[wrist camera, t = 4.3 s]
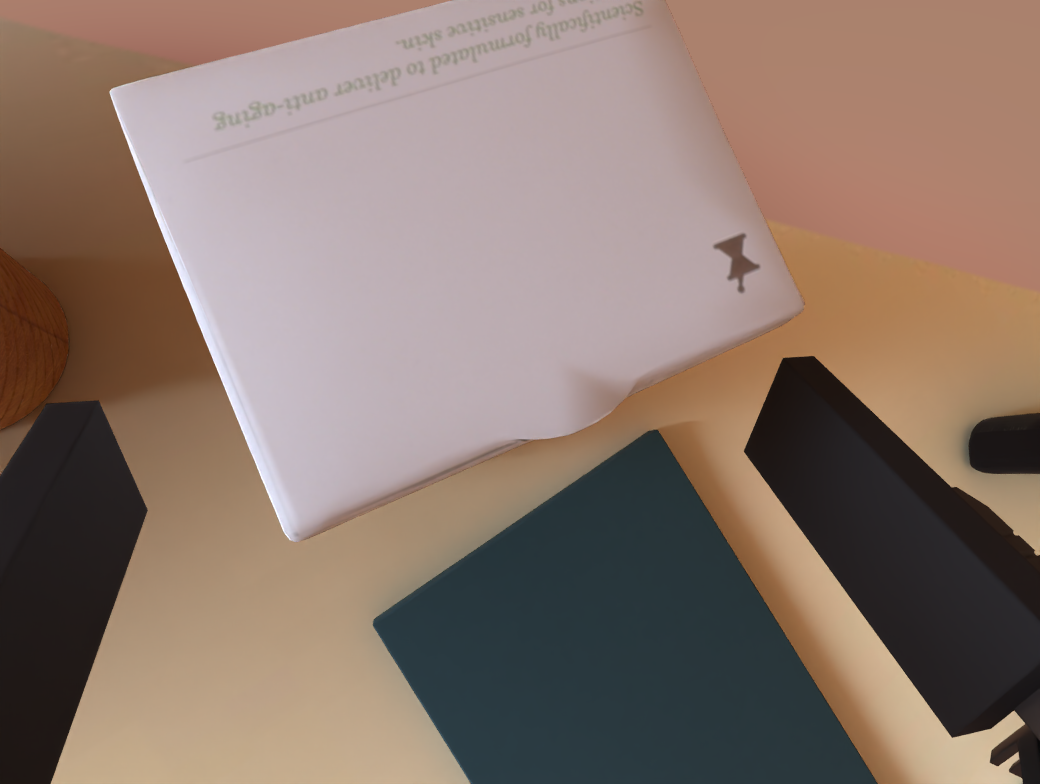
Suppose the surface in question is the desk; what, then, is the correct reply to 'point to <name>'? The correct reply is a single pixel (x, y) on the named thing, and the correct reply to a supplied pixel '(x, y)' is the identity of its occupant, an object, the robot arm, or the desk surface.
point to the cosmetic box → (450, 236)
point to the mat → (615, 647)
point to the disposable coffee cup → (28, 341)
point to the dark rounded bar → (1006, 445)
